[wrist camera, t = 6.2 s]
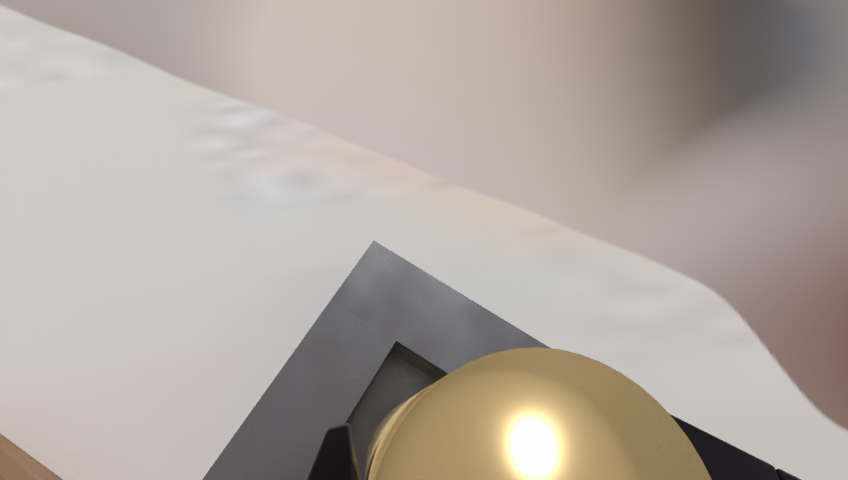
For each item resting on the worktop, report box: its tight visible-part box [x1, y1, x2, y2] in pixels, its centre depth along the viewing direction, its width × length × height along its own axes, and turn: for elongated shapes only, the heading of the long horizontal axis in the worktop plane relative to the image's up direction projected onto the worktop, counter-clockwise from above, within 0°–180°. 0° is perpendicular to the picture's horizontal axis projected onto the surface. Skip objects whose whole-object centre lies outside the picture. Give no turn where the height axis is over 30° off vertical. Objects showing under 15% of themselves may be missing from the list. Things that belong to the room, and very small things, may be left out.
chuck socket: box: [203, 241, 551, 480], centre depth 18 cm, size 12×12×4 cm
